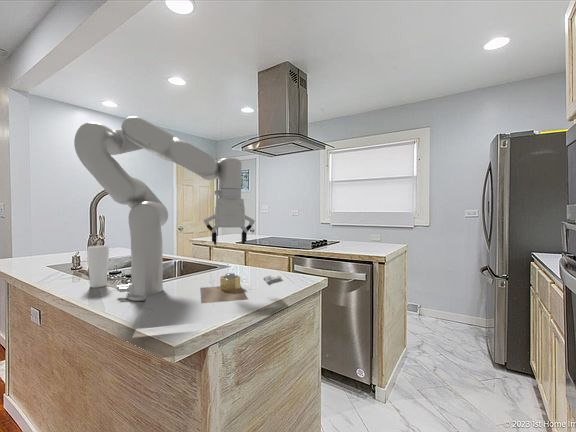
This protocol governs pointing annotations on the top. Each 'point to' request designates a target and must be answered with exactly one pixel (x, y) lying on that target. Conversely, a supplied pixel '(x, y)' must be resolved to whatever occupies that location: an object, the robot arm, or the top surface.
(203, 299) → the walnut board
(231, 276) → the steel post
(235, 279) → the brass ring
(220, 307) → the top surface
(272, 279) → the adjustable wrench
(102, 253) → the drinking glass
